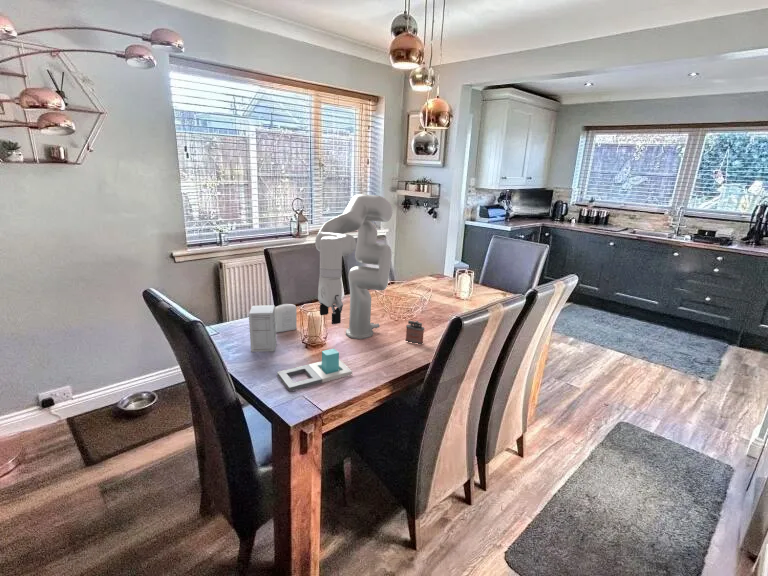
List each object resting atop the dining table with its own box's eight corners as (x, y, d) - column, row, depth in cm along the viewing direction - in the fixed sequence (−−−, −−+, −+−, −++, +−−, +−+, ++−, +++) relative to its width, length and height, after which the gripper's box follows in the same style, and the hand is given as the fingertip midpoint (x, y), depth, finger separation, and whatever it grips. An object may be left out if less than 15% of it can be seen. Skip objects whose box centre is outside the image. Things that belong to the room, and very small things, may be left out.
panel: (337, 361, 155) (337, 357, 155) (352, 374, 146) (352, 371, 145) (277, 375, 142) (277, 371, 142) (289, 391, 133) (289, 387, 132)
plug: (333, 367, 150) (334, 348, 148) (338, 372, 147) (339, 352, 145) (321, 370, 147) (321, 351, 145) (326, 375, 144) (326, 355, 142)
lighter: (423, 342, 176) (425, 321, 173) (422, 345, 173) (423, 324, 170) (406, 339, 178) (407, 318, 175) (404, 342, 175) (405, 321, 172)
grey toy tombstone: (294, 326, 186) (294, 301, 182) (298, 329, 182) (297, 304, 179) (273, 330, 180) (272, 304, 177) (276, 333, 177) (275, 307, 173)
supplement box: (276, 342, 169) (275, 304, 164) (275, 351, 160) (273, 312, 155) (253, 342, 167) (251, 304, 162) (250, 352, 158) (248, 312, 153)
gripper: (310, 267, 141) (310, 312, 146) (331, 279, 128) (331, 329, 132) (329, 266, 145) (329, 310, 150) (352, 277, 132) (350, 325, 136)
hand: (329, 319), depth 141 cm, fingers open, 9 cm apart
